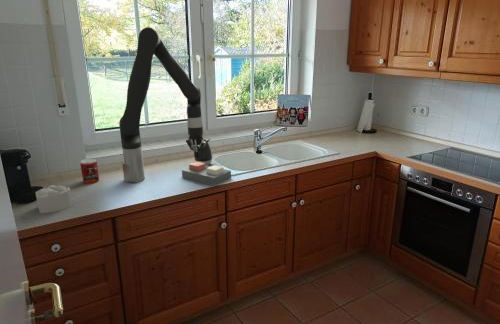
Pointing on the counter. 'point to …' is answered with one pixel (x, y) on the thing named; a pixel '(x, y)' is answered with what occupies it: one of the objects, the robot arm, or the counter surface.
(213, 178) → the key console
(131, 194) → the counter surface
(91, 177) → the canned food
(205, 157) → the pump dispenser
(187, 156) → the counter surface
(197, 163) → the red key
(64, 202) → the lumpy-topped squat cylinder
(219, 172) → the white key
